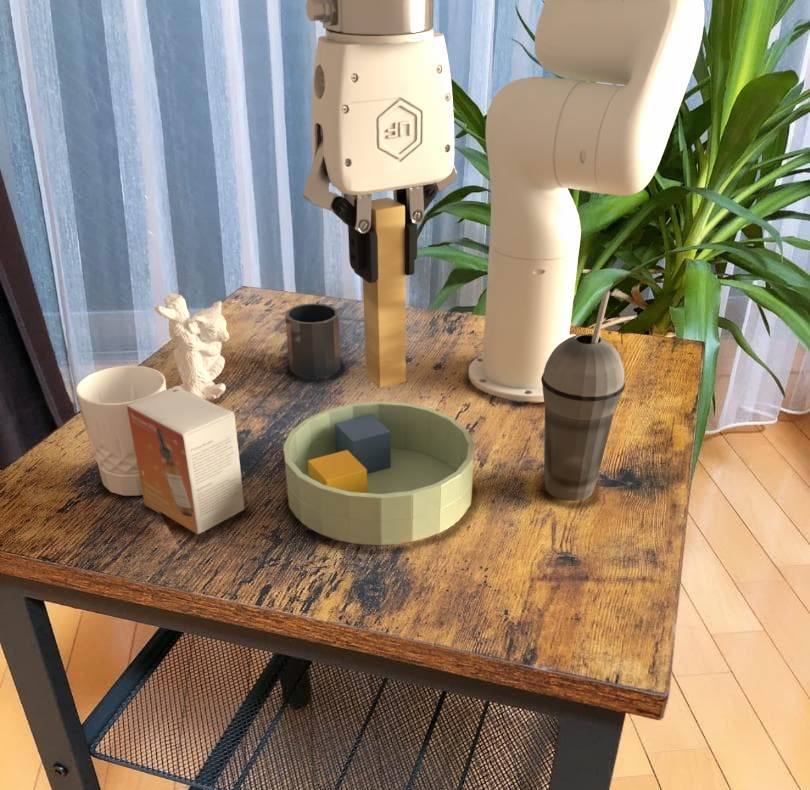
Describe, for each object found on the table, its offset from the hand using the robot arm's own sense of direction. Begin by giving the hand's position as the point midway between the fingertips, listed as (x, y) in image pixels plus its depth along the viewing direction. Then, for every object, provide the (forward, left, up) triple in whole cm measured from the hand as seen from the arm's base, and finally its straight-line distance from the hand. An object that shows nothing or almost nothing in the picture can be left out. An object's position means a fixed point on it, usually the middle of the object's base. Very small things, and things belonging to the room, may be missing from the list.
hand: (383, 271), depth 74 cm
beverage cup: (-15, +8, -21) cm, 28 cm away
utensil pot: (-5, -28, -21) cm, 35 cm away
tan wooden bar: (0, 0, -10) cm, 10 cm away
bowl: (+1, 0, -21) cm, 21 cm away
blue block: (0, -5, -21) cm, 21 cm away
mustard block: (+5, 0, -21) cm, 21 cm away
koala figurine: (+9, -28, -21) cm, 36 cm away
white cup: (+20, -14, -21) cm, 32 cm away
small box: (+17, -6, -21) cm, 28 cm away
